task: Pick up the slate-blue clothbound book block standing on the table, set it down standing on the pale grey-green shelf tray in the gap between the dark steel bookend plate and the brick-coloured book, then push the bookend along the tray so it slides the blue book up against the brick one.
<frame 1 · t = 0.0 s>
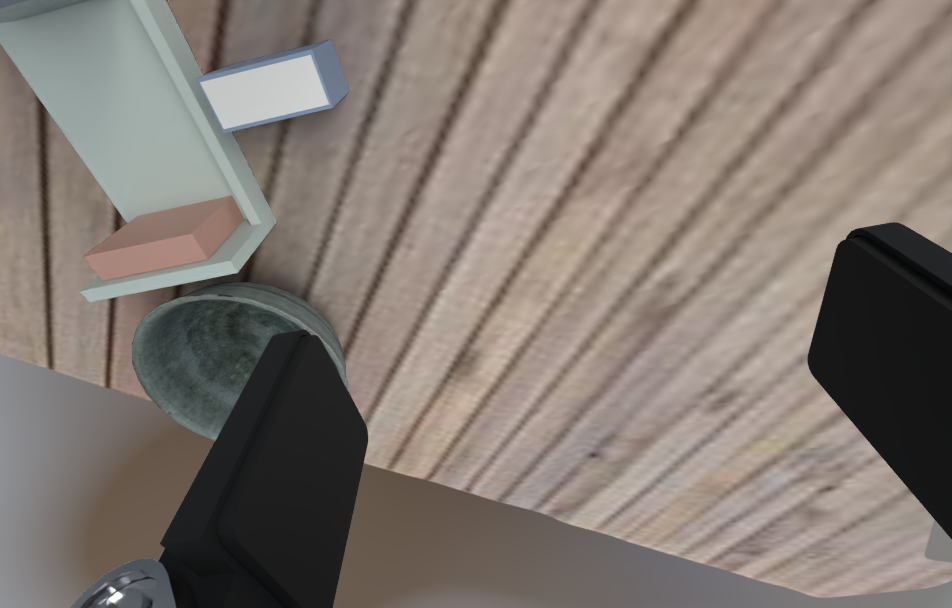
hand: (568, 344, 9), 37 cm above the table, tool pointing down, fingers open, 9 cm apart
shelf: (144, 120, 41), on the table
book: (290, 78, 40), on the table
bowl: (275, 322, 55), on the table
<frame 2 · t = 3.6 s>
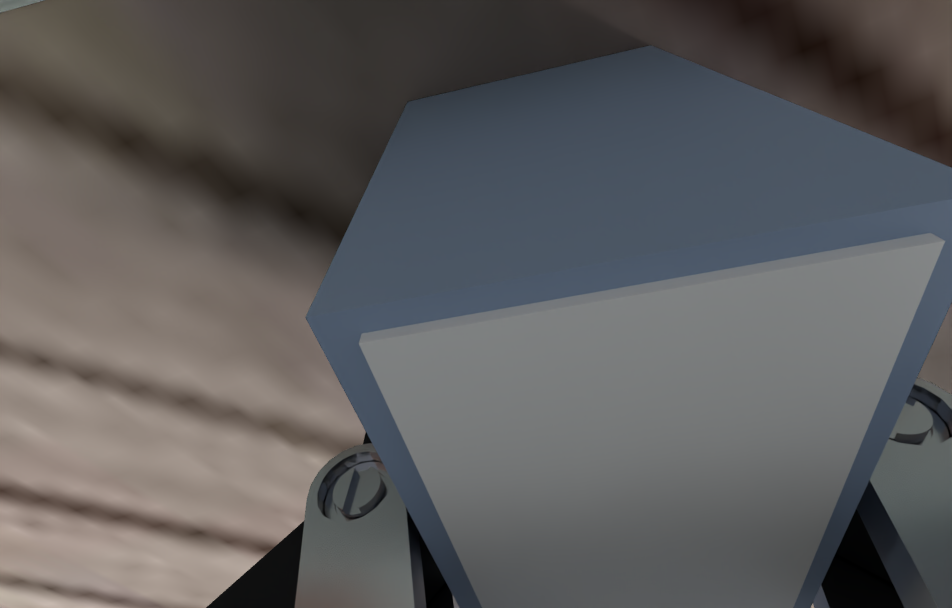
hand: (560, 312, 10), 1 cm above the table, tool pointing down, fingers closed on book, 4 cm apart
book: (556, 296, 10), on the table, touching gripper
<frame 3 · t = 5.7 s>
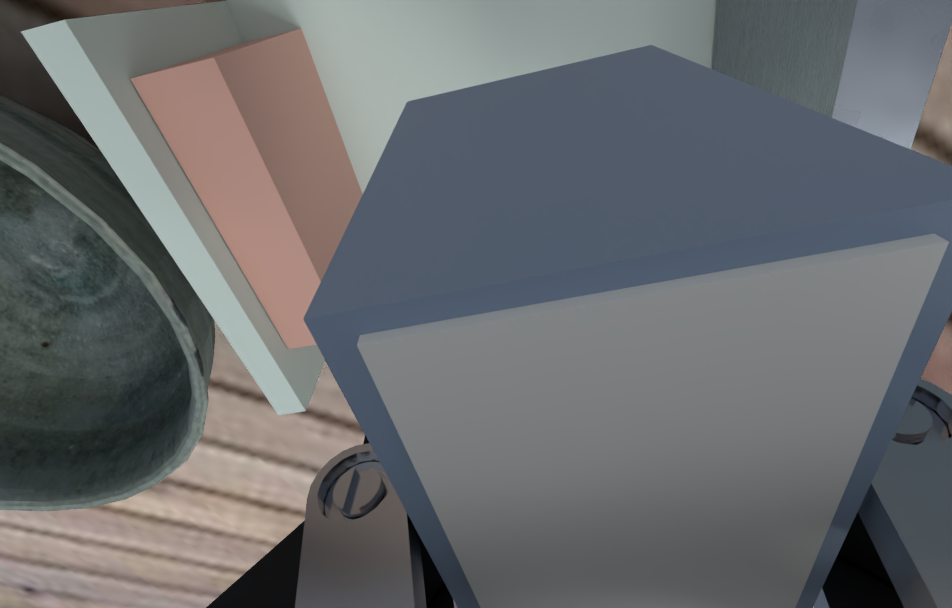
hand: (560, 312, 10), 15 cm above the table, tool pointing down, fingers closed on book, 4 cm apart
shelf: (509, 119, 22), on the table
book: (556, 297, 10), point 15 cm above the table, touching gripper
bookend: (795, 95, 17), point 5 cm above the table, slide at 0.0 cm
bowl: (84, 231, 25), on the table
when the fingers open (2 cm above the table, at t = 7.9 s): book stays where it is, resting on shelf.
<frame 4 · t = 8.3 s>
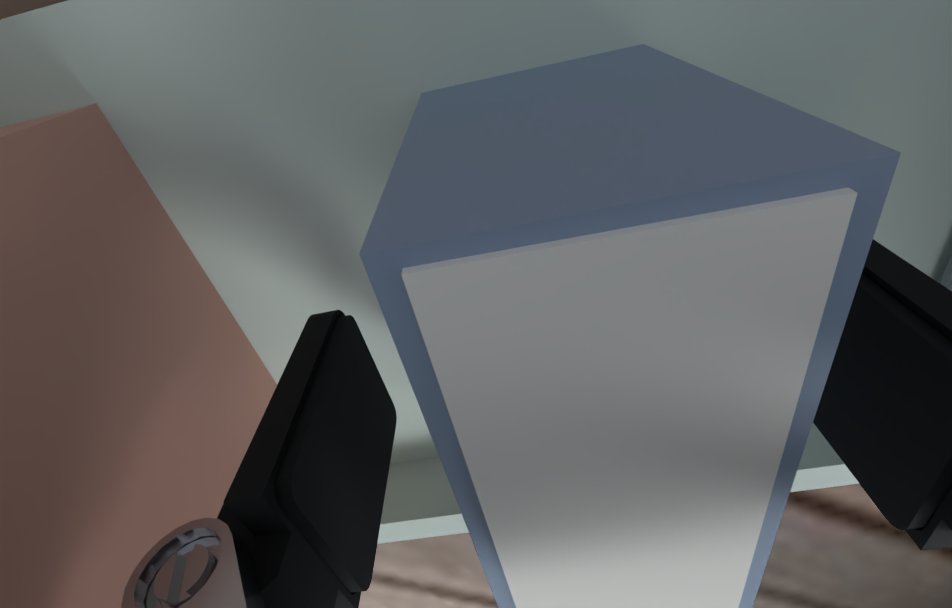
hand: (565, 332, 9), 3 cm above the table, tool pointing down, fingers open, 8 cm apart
shelf: (545, 257, 12), on the table
book: (554, 277, 11), point 1 cm above the table, touching shelf
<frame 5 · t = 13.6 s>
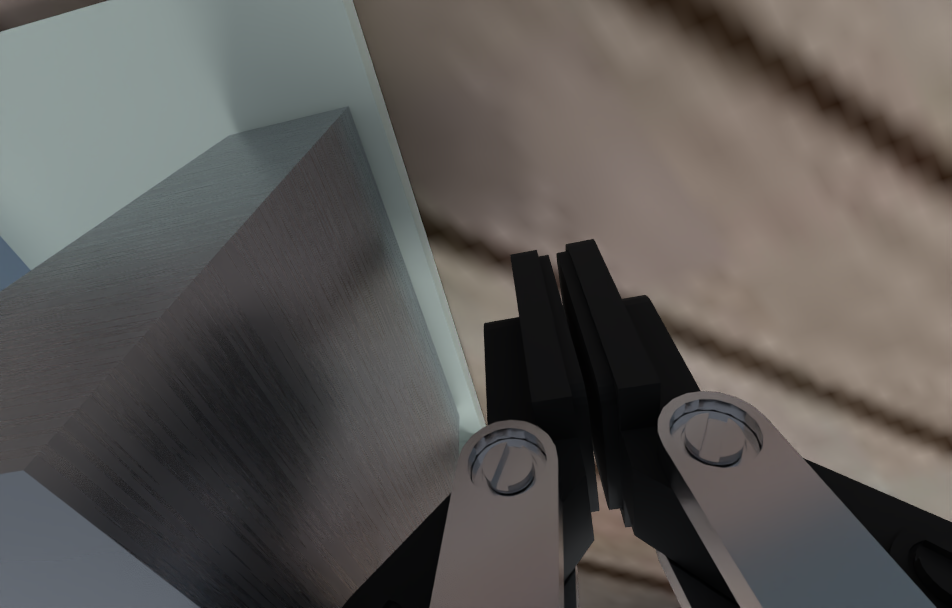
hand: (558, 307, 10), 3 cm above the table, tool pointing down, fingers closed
shelf: (55, 344, 14), on the table
book: (40, 365, 13), point 1 cm above the table, touching shelf
bookend: (328, 435, 8), point 5 cm above the table, slide at 0.2 cm, touching gripper
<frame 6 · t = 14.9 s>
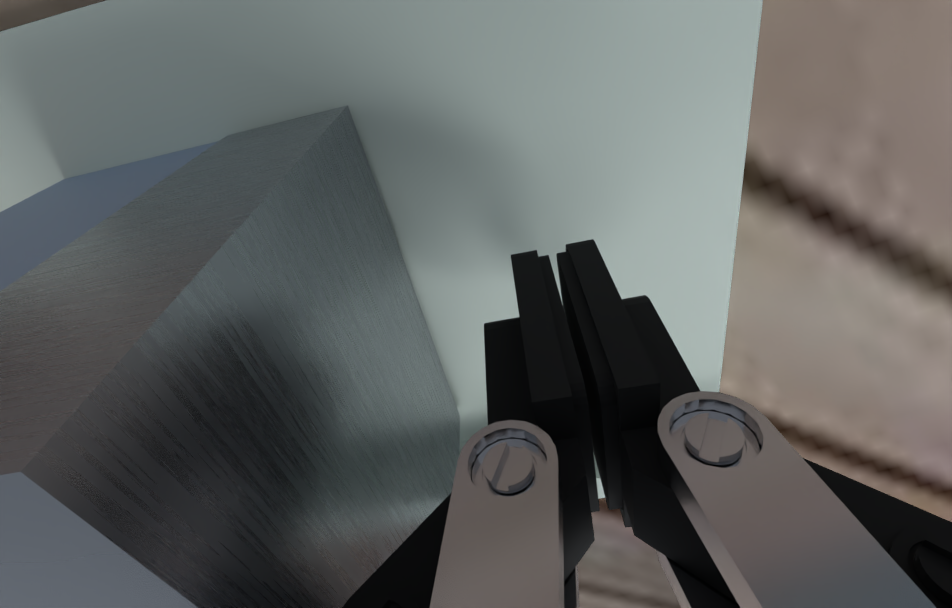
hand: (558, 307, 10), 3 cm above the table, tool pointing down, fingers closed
shelf: (286, 298, 13), on the table
book: (253, 324, 12), point 1 cm above the table
bookend: (328, 435, 8), point 5 cm above the table, slide at 7.5 cm, touching gripper
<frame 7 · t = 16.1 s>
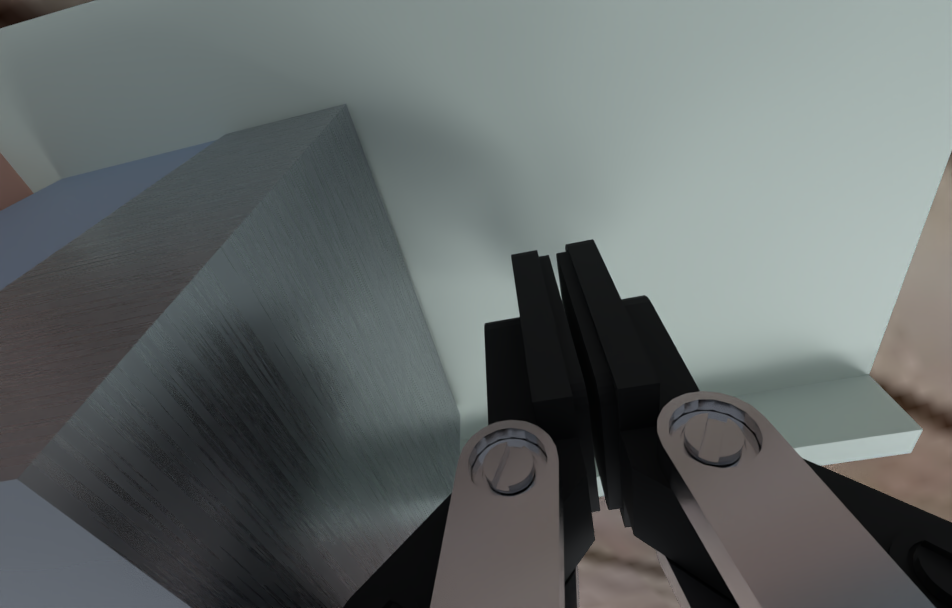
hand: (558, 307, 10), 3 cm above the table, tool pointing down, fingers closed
shelf: (436, 267, 12), on the table
book: (253, 324, 12), point 1 cm above the table, touching shelf
bookend: (329, 435, 8), point 5 cm above the table, slide at 11.7 cm, touching gripper
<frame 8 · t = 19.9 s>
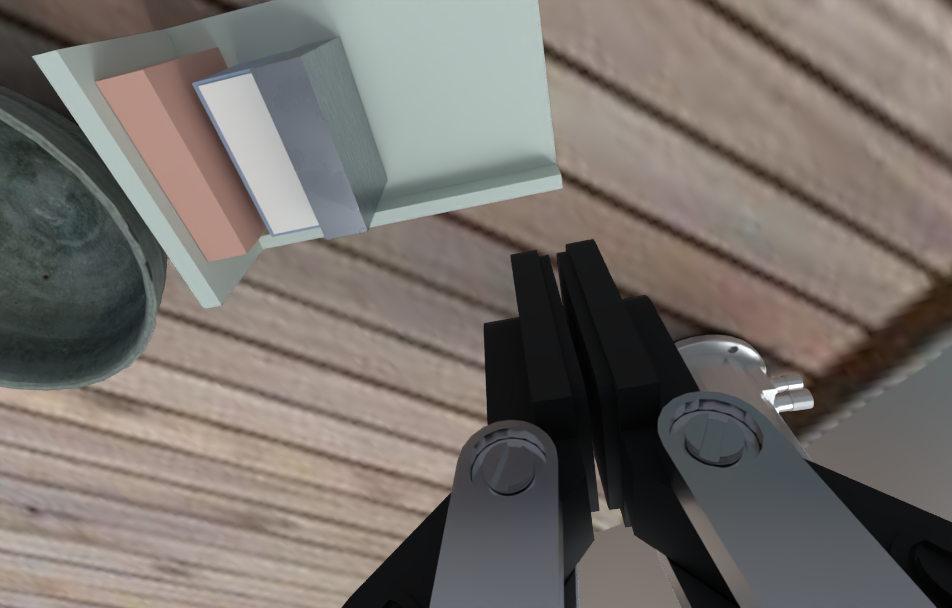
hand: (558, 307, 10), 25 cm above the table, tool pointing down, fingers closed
shelf: (372, 109, 31), on the table
book: (299, 130, 31), point 1 cm above the table, touching shelf
bookend: (333, 136, 27), point 5 cm above the table, slide at 11.5 cm
bowl: (74, 192, 35), on the table
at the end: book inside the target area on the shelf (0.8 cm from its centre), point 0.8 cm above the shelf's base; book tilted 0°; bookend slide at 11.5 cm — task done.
